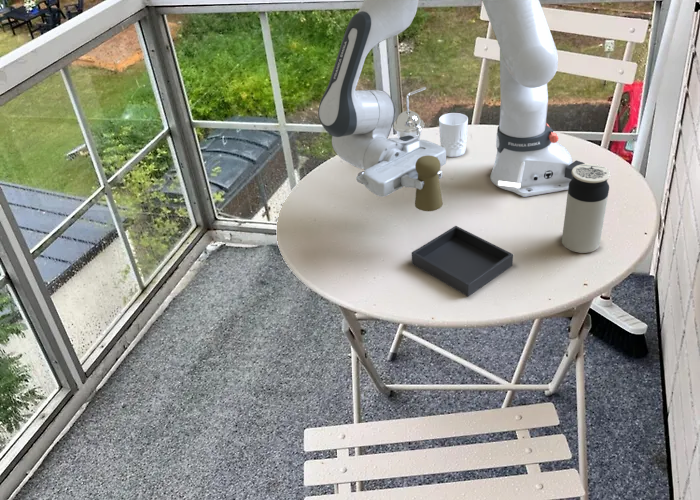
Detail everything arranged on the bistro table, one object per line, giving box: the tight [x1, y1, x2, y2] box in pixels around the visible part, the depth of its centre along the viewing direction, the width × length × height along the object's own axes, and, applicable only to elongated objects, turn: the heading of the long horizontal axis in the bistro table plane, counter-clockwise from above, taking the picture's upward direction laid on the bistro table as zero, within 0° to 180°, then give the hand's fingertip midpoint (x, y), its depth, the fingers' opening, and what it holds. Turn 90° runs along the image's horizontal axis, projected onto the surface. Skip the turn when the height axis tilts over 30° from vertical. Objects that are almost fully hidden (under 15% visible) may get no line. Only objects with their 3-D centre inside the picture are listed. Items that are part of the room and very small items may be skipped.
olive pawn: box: [414, 155, 444, 212], centre depth 138 cm, size 6×6×11 cm
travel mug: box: [561, 163, 611, 254], centre depth 139 cm, size 8×8×18 cm
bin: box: [411, 225, 514, 297], centre depth 141 cm, size 16×14×3 cm
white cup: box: [438, 112, 469, 158], centre depth 181 cm, size 8×8×10 cm
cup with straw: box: [392, 86, 427, 140], centre depth 178 cm, size 8×9×20 cm
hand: (431, 180), depth 137 cm, fingers closed on olive pawn, 4 cm apart
